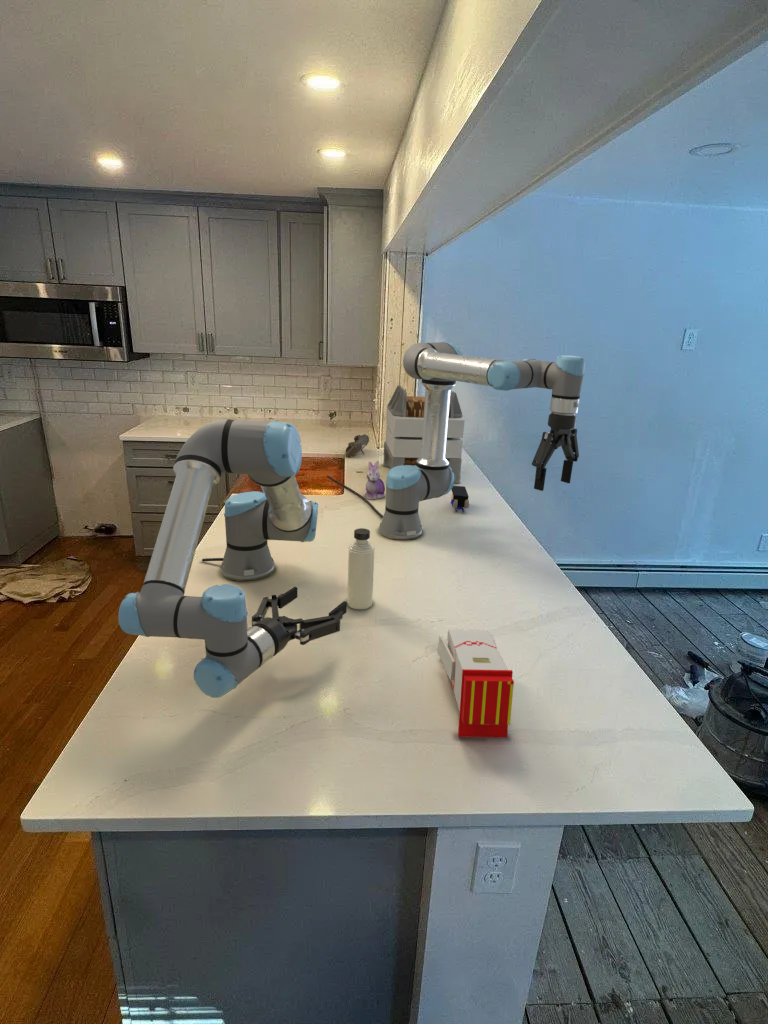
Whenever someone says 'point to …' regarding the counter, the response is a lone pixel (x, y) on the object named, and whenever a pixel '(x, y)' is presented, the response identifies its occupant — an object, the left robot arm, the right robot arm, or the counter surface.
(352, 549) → the bottle
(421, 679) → the counter surface
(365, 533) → the cap
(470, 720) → the toy
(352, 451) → the fossil
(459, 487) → the figurine character
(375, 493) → the figurine
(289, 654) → the counter surface
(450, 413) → the transformer
